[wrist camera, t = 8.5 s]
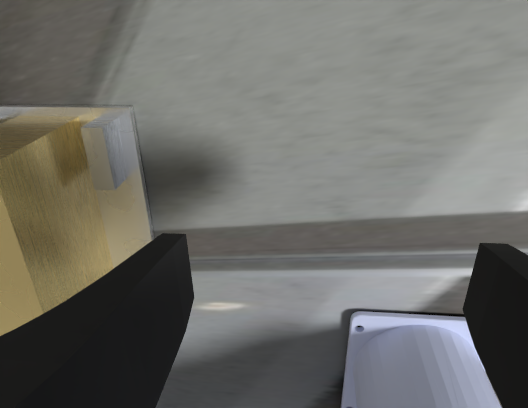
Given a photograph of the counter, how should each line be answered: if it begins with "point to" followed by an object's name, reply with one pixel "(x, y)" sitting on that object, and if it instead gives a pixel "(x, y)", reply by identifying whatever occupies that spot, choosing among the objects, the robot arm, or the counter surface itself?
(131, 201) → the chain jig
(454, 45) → the counter surface
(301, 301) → the counter surface
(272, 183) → the counter surface
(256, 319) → the counter surface
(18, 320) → the brass plaque on stand
